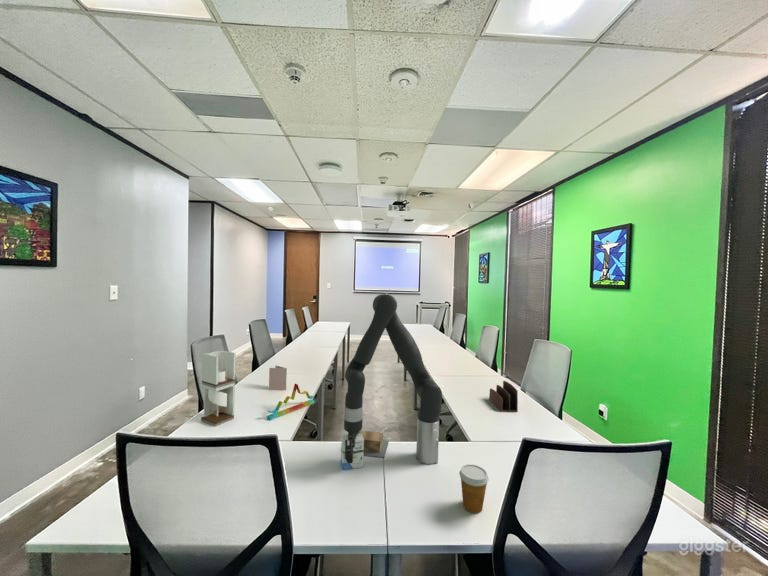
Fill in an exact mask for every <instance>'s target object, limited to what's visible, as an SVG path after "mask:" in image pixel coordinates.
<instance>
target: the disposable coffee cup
mask: <svg viewBox="0 0 768 576" xmlns="http://www.w3.org/2000/svg"><path fill="white" fill-rule="evenodd" d="M458 475H459V477H460V482H461V483H460V484H461V494H462V495H461V497H462V506H463V508H464V509H465V510H466V511H467V512H469V513H471V514H479V513H481V512H482V511H483V508H484V501H485V495H486V490H487V484H488V482H489V479H490V477H489V475H488V473H487V470H486V469H485V468H483V467H481V466H479V465H477V464H471V463H469V464H467V463H466V464H464V465H462V466H461V469H460V470H459V473H458Z"/></svg>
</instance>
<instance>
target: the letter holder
mask: <svg viewBox="0 0 768 576" xmlns="http://www.w3.org/2000/svg"><path fill="white" fill-rule="evenodd" d="M495 388H496V390H494V389H493V388H489V397H488V399H489V401H490V402H491V403H492V404H493V405H494V406H495V407H496V408H497V409H498V410H499V411H500V412H501V413H518V408H519V407H518V405H519V404H518V403H519V402H518V401H519V400H518V399H519V398H518V397H519V396H518V390H517V388H516V387H515V386H514V385H512V383H509V381H506V380H503V381H502V386H501V385H499V384H496V387H495Z"/></svg>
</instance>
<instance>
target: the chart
mask: <svg viewBox="0 0 768 576" xmlns="http://www.w3.org/2000/svg"><path fill="white" fill-rule="evenodd" d="M297 393H298V394H301V395H306V397H307V399H309V400H306V401H304V402H301V403H299V404H295V405H293V406H289V407H287V408H284V409H282V410H280V408H281V406H282V404H288V402H289V400H292V401H294V400H295V396H296V394H297ZM314 398H315V396H314V395H310V394H309V392H308V391H307V390H303V391H302V392H301V389H300V387H299V384H298V383H294V385H293V389H292V392H291V396H289V395H287V396H286V397H285V399H284V400H283V401H281V400H279V401H278V403H277V404H276V407H275V409H273V410H272V411H270V410H267V412H268V413H270V414H268V415H266V419H267V420H268V421H272V420H276V419H277V418H281V417H283V416H285V415H287V414H290V413H294V412H297V411H298V410H301V409H303V408H306V407H309V406H311V405H314V404H315V400H314Z"/></svg>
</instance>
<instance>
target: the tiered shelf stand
mask: <svg viewBox="0 0 768 576" xmlns="http://www.w3.org/2000/svg"><path fill="white" fill-rule="evenodd" d="M236 355H237V354H236V352H231V351H227V350H216V351H212V352H205V353H202V363H201V364H202V367H201V368H202V369H201V371H202V373H201V388H203V416H201V417H200V421H201V422H202V423H204V424H207V425H210V426H213V427H217V426H220V425H222V424H225V423H227V422H230V421H232V420H235V399H236V398H235V395H236V393H235V392H236Z"/></svg>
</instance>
